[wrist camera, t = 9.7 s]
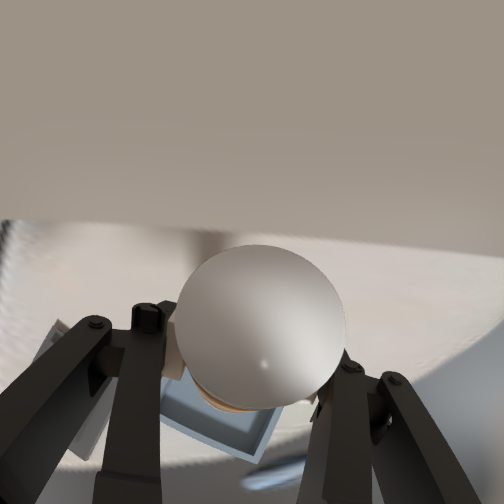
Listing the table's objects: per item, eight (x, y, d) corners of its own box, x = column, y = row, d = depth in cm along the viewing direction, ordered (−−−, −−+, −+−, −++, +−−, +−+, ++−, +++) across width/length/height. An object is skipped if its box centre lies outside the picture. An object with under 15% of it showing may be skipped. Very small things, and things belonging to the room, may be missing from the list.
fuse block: (17, 400, 25) (6, 398, 23) (56, 328, 31) (47, 321, 29) (88, 460, 23) (79, 462, 21) (130, 379, 30) (124, 376, 28)
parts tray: (150, 412, 28) (143, 411, 25) (198, 321, 35) (197, 312, 32) (252, 459, 27) (257, 464, 24) (294, 365, 33) (303, 359, 30)
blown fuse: (182, 392, 17) (142, 356, 7) (215, 329, 20) (224, 222, 10) (252, 425, 17) (313, 433, 7) (282, 359, 19) (362, 283, 9)
